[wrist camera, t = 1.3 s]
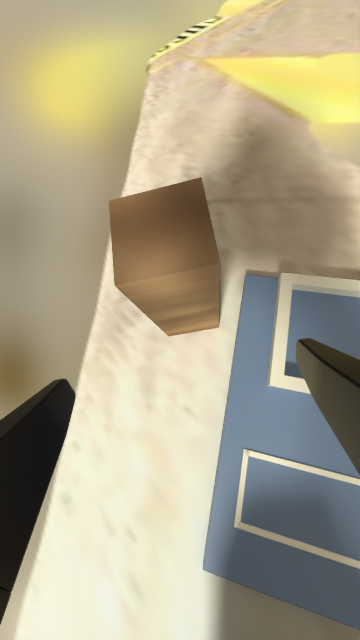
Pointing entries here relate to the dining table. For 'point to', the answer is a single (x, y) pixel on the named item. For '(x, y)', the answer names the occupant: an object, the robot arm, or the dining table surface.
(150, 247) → the walnut column
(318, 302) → the blueprint board
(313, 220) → the dining table surface
